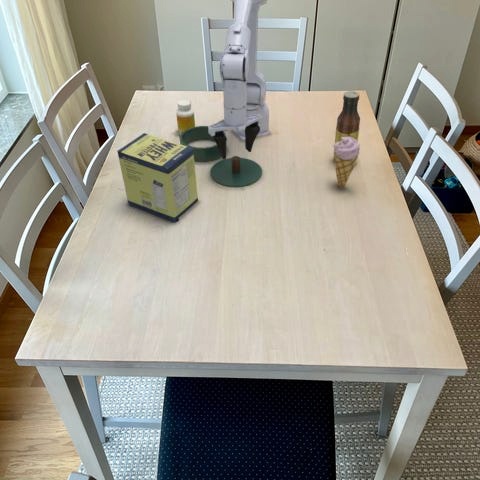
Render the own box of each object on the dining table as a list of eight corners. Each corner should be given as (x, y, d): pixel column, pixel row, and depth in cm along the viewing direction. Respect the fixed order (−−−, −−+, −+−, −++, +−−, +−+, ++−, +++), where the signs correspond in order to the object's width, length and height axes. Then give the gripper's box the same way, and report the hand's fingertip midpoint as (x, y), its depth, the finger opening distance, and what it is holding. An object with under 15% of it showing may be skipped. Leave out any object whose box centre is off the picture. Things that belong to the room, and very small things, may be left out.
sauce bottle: (353, 157, 144) (365, 89, 130) (355, 168, 140) (367, 99, 126) (331, 156, 145) (340, 88, 130) (331, 167, 140) (341, 98, 126)
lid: (247, 156, 145) (247, 140, 141) (271, 180, 136) (272, 164, 132) (202, 168, 141) (201, 152, 137) (224, 194, 132) (223, 177, 128)
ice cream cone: (324, 189, 133) (330, 137, 122) (332, 178, 137) (339, 126, 126) (348, 196, 131) (357, 143, 120) (355, 184, 134) (365, 132, 124)
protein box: (151, 185, 135) (143, 131, 124) (199, 202, 129) (194, 147, 118) (126, 204, 129) (115, 150, 118) (175, 223, 123) (168, 168, 112)
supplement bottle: (194, 137, 153) (192, 106, 146) (177, 137, 153) (174, 106, 146) (196, 128, 157) (193, 98, 150) (179, 128, 157) (176, 98, 150)
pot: (214, 136, 153) (214, 121, 150) (234, 156, 145) (234, 141, 142) (174, 146, 149) (172, 131, 146) (191, 168, 141) (190, 153, 137)
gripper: (215, 117, 119) (217, 167, 129) (268, 104, 124) (266, 154, 133) (203, 105, 124) (206, 155, 133) (254, 94, 128) (254, 142, 138)
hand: (235, 153), depth 134 cm, fingers open, 7 cm apart
